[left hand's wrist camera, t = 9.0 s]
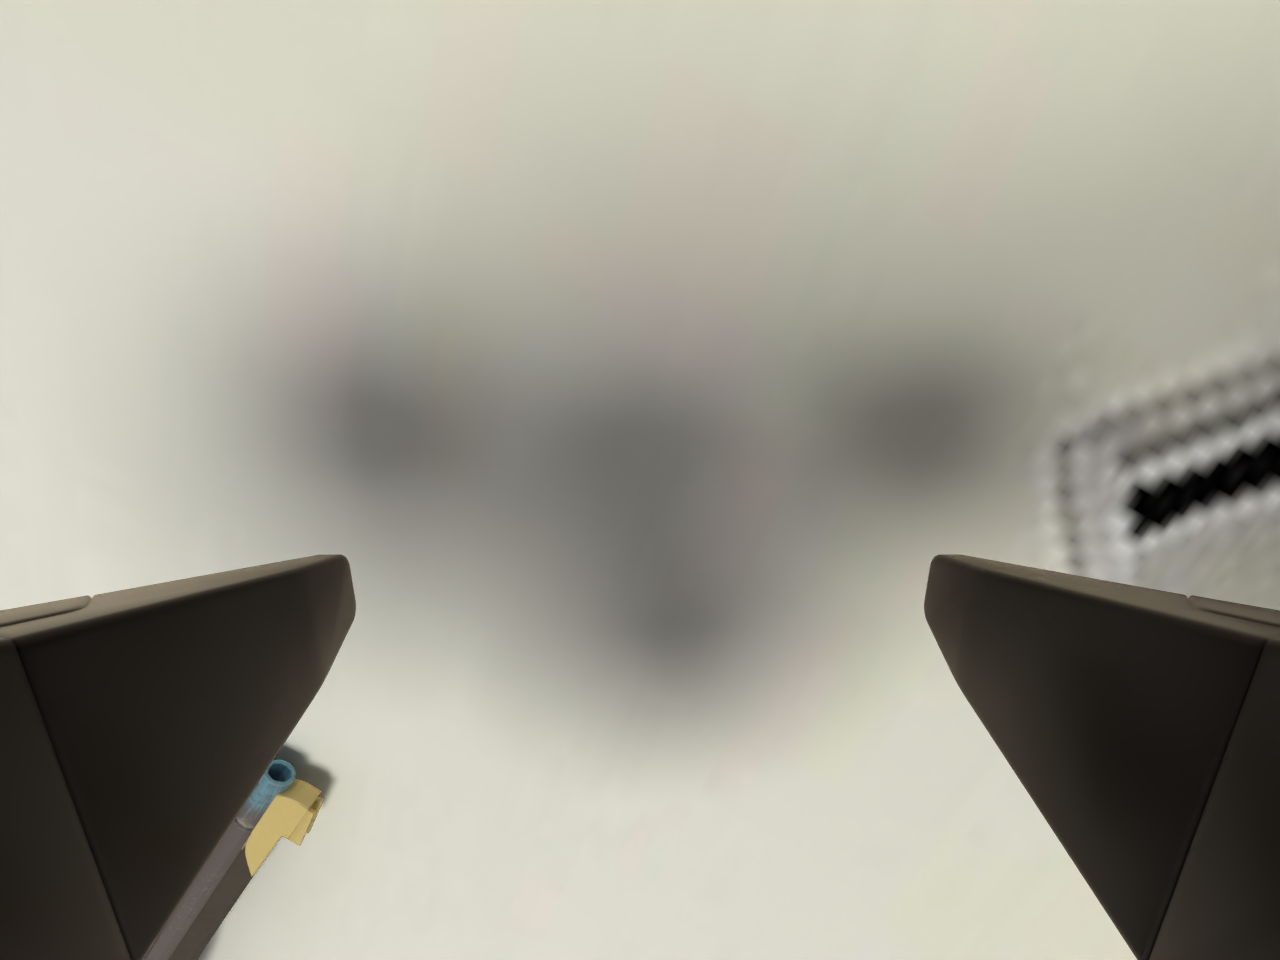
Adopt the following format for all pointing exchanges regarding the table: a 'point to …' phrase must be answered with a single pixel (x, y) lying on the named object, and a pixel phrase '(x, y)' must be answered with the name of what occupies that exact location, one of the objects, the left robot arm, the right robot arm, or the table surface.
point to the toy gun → (238, 860)
